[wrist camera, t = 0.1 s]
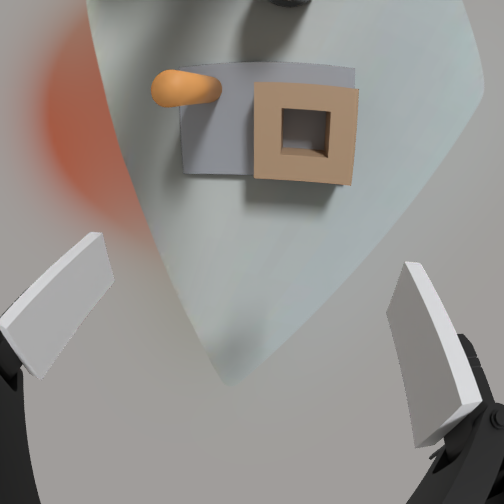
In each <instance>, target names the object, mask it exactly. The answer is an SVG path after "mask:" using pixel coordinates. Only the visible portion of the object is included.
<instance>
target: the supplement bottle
mask: <svg viewBox="0 0 504 504" xmlns="http://www.w3.org/2000/svg"><path fill="white" fill-rule="evenodd" d="M269 1H270V2H272V3H274V4H276V5H279V6H284V7H296V6H300V5H303V4H305V3H307V2H308V1H309V0H269Z"/></svg>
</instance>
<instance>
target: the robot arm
mask: <svg viewBox="0 0 504 504" xmlns="http://www.w3.org/2000/svg"><path fill="white" fill-rule="evenodd" d="M114 282H115V280H114V276H113V272H112V269H111V265H110V261H109V258H108V253H107V250H106V246H105V241H104V237H103V233H99V232H90V233H89V234H87V235H86V236H85V237H84V238H83V239H81V240H80V241H79V242H78V243H77V244H76V245H74V246H73V247H72V248H71V249H70V250H69V251H67V252H66V253H65V254H64V255H63V256H62V257H61V258H60V259H59V260H57V261H56V262H55V263H54V264H53V265H52V266H51V267H50V268H49V269H48V270H47V271H46V272H45V273H44V274H42V275H41V276H40V277H39V278H38V279H37V281H35V282H34V283H33V284H32V285H31V286H30V287H28V288H27V289H26V290H25V291H24V292H23V293H22V294H21V295H20V297H18V299H17V300H16V301H15V303H13V304H12V305H11V306H10V307H9V308H8V309H7V310H6V311H5V312H4V313H3V315H2V316H1V317H0V504H41V503H40V499H39V496H38V492H37V488H36V484H35V480H34V475H33V470H32V465H31V461H30V454H29V448H28V441H27V433H26V423H25V412H24V393H23V372H22V370H21V369H20V367H21V366H22V364H23V365H24V366H25V368H26V369H27V370H28V372H29V373H30V374H31V375H33V376H35V377H36V378H38V379H40V380H42V379H43V377H44V376H45V374H46V373H47V371H48V370H49V368H50V367H51V365H52V364H53V362H54V361H55V360H56V358H57V357H58V355H59V354H60V352H61V351H62V350H63V348H64V347H65V345H66V344H67V343H68V341H69V340H70V338H71V337H72V336H73V334H74V333H75V332H76V330H77V329H78V328H79V326H80V325H81V324H82V322H83V321H84V319H85V318H86V317H87V316H88V314H89V313H90V312H91V311H92V309H93V308H94V307H95V306H96V304H97V303H98V302H99V301H100V299H101V298H102V297H103V295H104V294H105V293H106V292H107V290H108V289H109V288H110V287H111V286H112V284H113V283H114ZM386 314H387V318H388V321H389V324H390V328H391V332H392V336H393V339H394V343H395V347H396V351H397V355H398V359H399V364H400V368H401V372H402V377H403V381H404V386H405V391H406V396H407V401H408V407H409V412H410V418H411V424H412V431H413V437H414V444H415V448H420V447H426V446H431V445H435V444H436V443H437V442H438V441H439V440H441V439H442V438H443V437H444V441H445V445H444V446H442V447H441V448H440V449H438V450H437V451H436V452H435V453H433V454H432V455H431V456H430V457H429V459H430V460H431V459H433V458H434V457H435V456H436V458H435V460H434V462H433V463H432V465H431V467H430V468H429V470H428V472H427V473H426V475H425V476H424V478H423V480H422V481H421V483H420V484H419V486H418V487H417V489H416V490H415V492H414V493H413V495H412V496H411V497H410V499H409V500H408V501H407V503H406V504H504V405H503V404H500V403H495V401H494V399H493V396H492V393H491V390H490V387H489V384H488V382H487V379H486V376H485V374H484V371H483V369H482V367H481V364H480V361H479V359H478V358H477V354H476V352H475V350H474V348H473V345H472V344H471V342H470V341H469V340H468V339H467V338H466V337H465V335H463V334H456V331H455V329H454V327H453V325H452V323H451V321H450V319H449V316H448V314H447V312H446V310H445V308H444V306H443V304H442V302H441V300H440V298H439V296H438V294H437V293H436V291H435V289H434V287H433V285H432V283H431V281H430V279H429V278H428V276H427V275H426V272H425V271H424V269H423V267H422V266H421V264H420V263H415V262H404V265H403V268H402V271H401V274H400V277H399V279H398V282H397V285H396V288H395V291H394V293H393V296H392V299H391V302H390V304H389V307H388V309H387V312H386Z"/></svg>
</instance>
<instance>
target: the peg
mask: <svg viewBox="0 0 504 504" xmlns="http://www.w3.org/2000/svg"><path fill="white" fill-rule="evenodd" d="M221 93H222V85H221V83H220V81H219V80H218V79H217V78H215V77H211V76H206V75H201V74H196V73H190V72H185V71H179V70H165V71H163V72H161V73H159V74H158V75H157V76H156V77H155V79H154V80H153V83H152V86H151V95H152V98H153V100H154V101H155V102H156V103H157V104H158V105H160V106H162V107H176V106H184V105H192V104H202V103H211V102H214V101H216V100H217V99H218V98H219V97H220V96H221Z"/></svg>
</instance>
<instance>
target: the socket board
mask: <svg viewBox="0 0 504 504" xmlns="http://www.w3.org/2000/svg"><path fill="white" fill-rule="evenodd" d="M179 71H185V72H190V73H196V74H201V75H206V76H211V77H215V78H217V79H218V80H219V81H220V83H221V85H222V93H221V96H220V97H219V98H218V99H217V100H216V101H214V102H211V103H202V104H192V105H184V106H180V127H181V145H182V160H183V173H184V174H239V175H254V178H257V179H277V180H293V181H307V182H319V183H330V184H340V185H350V186H351V182H352V173H353V163H354V153H355V142H356V130H357V115H358V96H359V89H355V68H348V67H340V66H332V65H322V64H310V63H293V62H234V63H217V64H205V65H195V66H187V67H179Z"/></svg>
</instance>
